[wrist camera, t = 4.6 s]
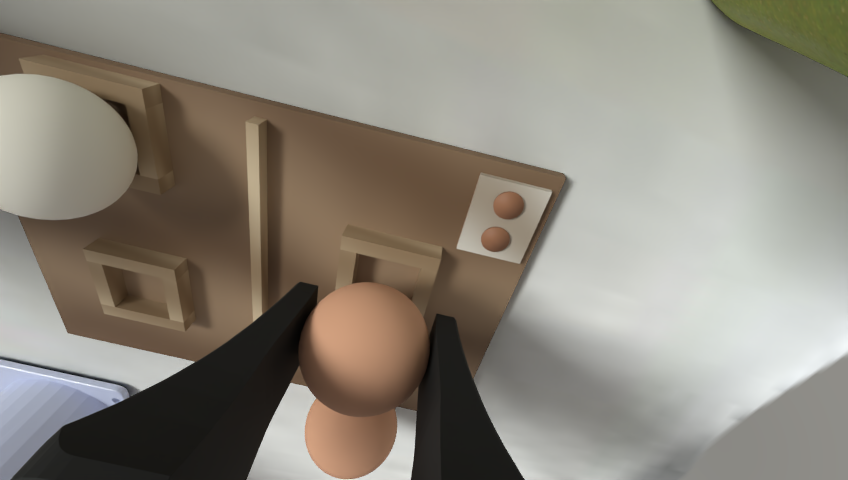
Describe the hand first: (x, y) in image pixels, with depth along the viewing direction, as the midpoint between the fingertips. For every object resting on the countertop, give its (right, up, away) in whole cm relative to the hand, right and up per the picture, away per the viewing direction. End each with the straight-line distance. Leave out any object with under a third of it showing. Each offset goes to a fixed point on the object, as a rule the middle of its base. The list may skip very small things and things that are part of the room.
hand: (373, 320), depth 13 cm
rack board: (-5, +2, +3) cm, 6 cm away
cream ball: (-9, +5, -2) cm, 11 cm away
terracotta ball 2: (-1, -5, +4) cm, 7 cm away
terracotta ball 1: (0, -1, -1) cm, 1 cm away
